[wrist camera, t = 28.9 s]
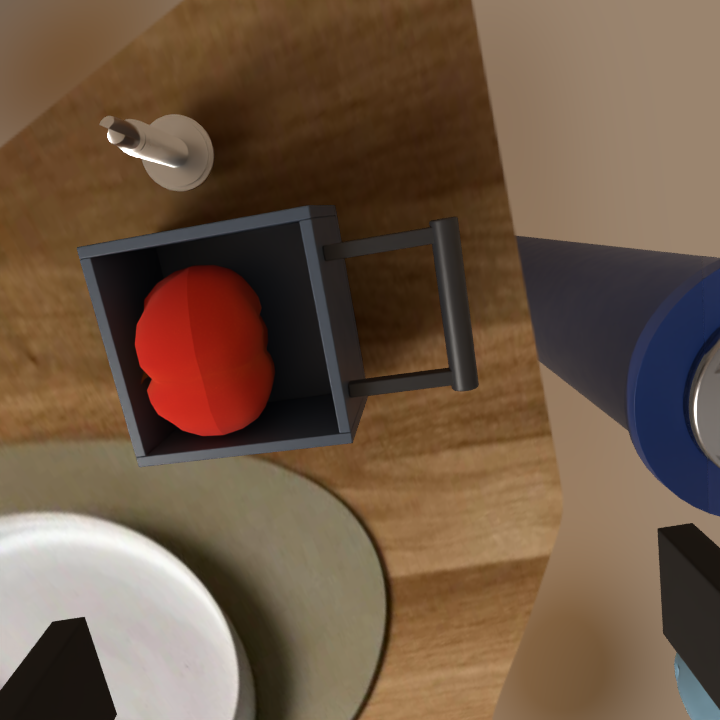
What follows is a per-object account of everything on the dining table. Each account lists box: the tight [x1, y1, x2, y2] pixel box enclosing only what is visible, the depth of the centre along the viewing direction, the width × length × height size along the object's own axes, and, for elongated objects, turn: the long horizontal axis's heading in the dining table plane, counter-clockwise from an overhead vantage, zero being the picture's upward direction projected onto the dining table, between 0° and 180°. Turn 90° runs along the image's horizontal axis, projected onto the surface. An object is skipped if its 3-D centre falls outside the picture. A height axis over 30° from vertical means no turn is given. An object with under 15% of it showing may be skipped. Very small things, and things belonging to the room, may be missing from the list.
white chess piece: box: [99, 114, 215, 191], centre depth 34 cm, size 13×5×5 cm
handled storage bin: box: [77, 205, 479, 467], centre depth 37 cm, size 22×14×9 cm, turn 100°
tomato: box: [135, 265, 275, 436], centre depth 37 cm, size 11×11×8 cm
